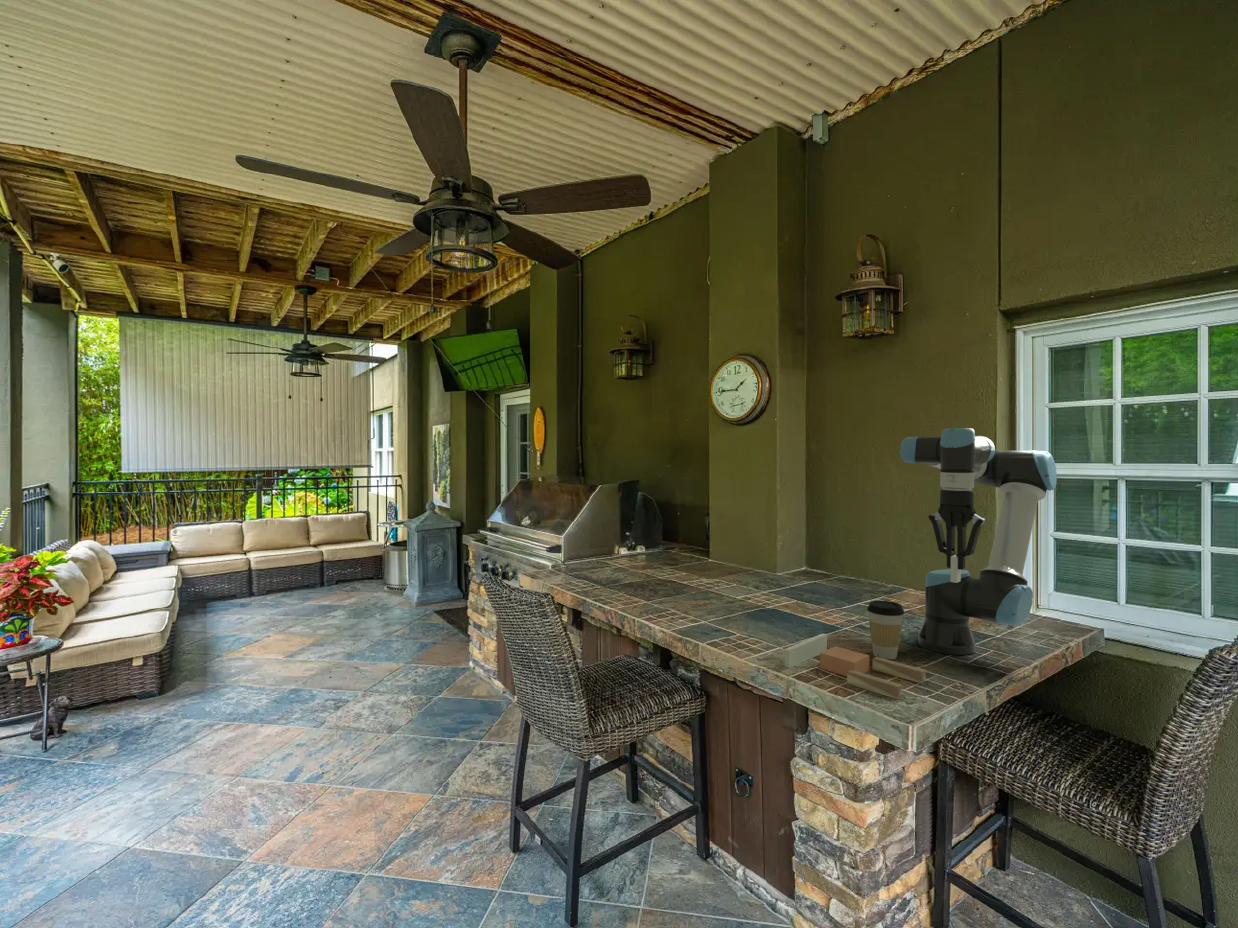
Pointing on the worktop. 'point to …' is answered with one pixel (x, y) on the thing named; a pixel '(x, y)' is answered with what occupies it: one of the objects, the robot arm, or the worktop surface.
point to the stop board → (805, 650)
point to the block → (843, 661)
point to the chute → (884, 685)
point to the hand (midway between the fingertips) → (955, 581)
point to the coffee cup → (885, 628)
